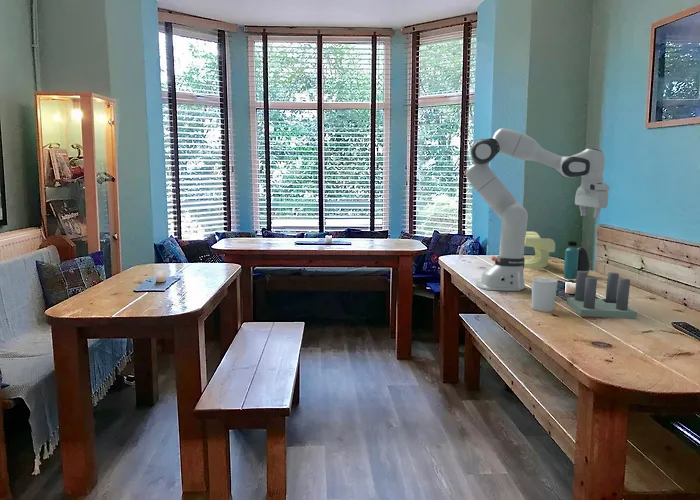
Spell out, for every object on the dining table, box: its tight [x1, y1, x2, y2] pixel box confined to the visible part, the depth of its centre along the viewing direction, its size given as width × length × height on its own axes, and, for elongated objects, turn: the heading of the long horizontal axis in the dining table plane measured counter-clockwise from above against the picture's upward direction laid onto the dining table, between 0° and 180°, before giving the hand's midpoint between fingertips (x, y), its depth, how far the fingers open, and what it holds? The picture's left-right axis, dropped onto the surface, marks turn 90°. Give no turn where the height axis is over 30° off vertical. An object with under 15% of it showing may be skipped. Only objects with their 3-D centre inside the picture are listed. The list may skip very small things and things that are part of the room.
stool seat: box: [566, 271, 637, 320], centre depth 217 cm, size 20×20×14 cm
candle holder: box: [531, 276, 559, 313], centre depth 218 cm, size 10×10×12 cm
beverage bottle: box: [562, 240, 579, 280], centre depth 272 cm, size 6×7×20 cm
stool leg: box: [605, 271, 620, 303], centre depth 222 cm, size 4×4×14 cm
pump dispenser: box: [576, 246, 591, 274], centre depth 286 cm, size 10×10×15 cm
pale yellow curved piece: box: [524, 230, 556, 269], centre depth 313 cm, size 30×16×18 cm, turn 178°
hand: (589, 216), depth 246 cm, fingers open, 8 cm apart
